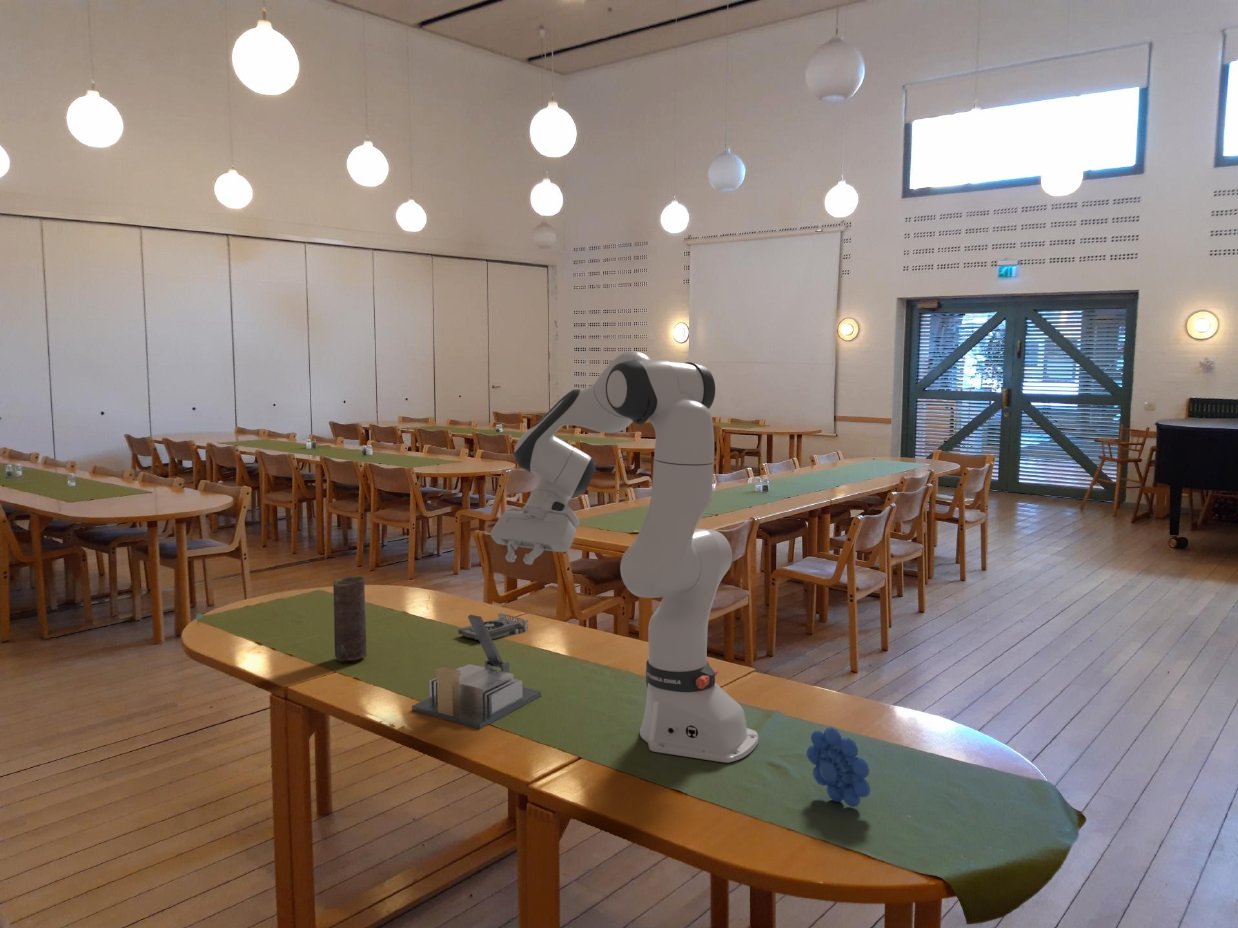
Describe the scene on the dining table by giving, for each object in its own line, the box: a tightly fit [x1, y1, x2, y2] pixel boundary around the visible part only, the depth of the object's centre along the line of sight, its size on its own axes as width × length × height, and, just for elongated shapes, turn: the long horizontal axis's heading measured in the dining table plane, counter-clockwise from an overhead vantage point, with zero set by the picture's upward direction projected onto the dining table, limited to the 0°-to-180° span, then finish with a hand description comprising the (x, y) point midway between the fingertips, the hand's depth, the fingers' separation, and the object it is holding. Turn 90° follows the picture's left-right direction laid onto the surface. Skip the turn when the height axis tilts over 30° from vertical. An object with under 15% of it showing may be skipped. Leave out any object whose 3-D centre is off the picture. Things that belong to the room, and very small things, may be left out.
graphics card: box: [457, 612, 529, 640], centre depth 232 cm, size 17×4×12 cm
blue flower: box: [806, 726, 871, 808], centre depth 141 cm, size 12×7×12 cm, turn 43°
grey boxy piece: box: [411, 659, 542, 730], centre depth 184 cm, size 18×20×10 cm
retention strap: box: [467, 614, 505, 669], centre depth 185 cm, size 15×3×1 cm
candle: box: [332, 575, 368, 662], centre depth 210 cm, size 8×7×20 cm
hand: (518, 561), depth 193 cm, fingers open, 3 cm apart
